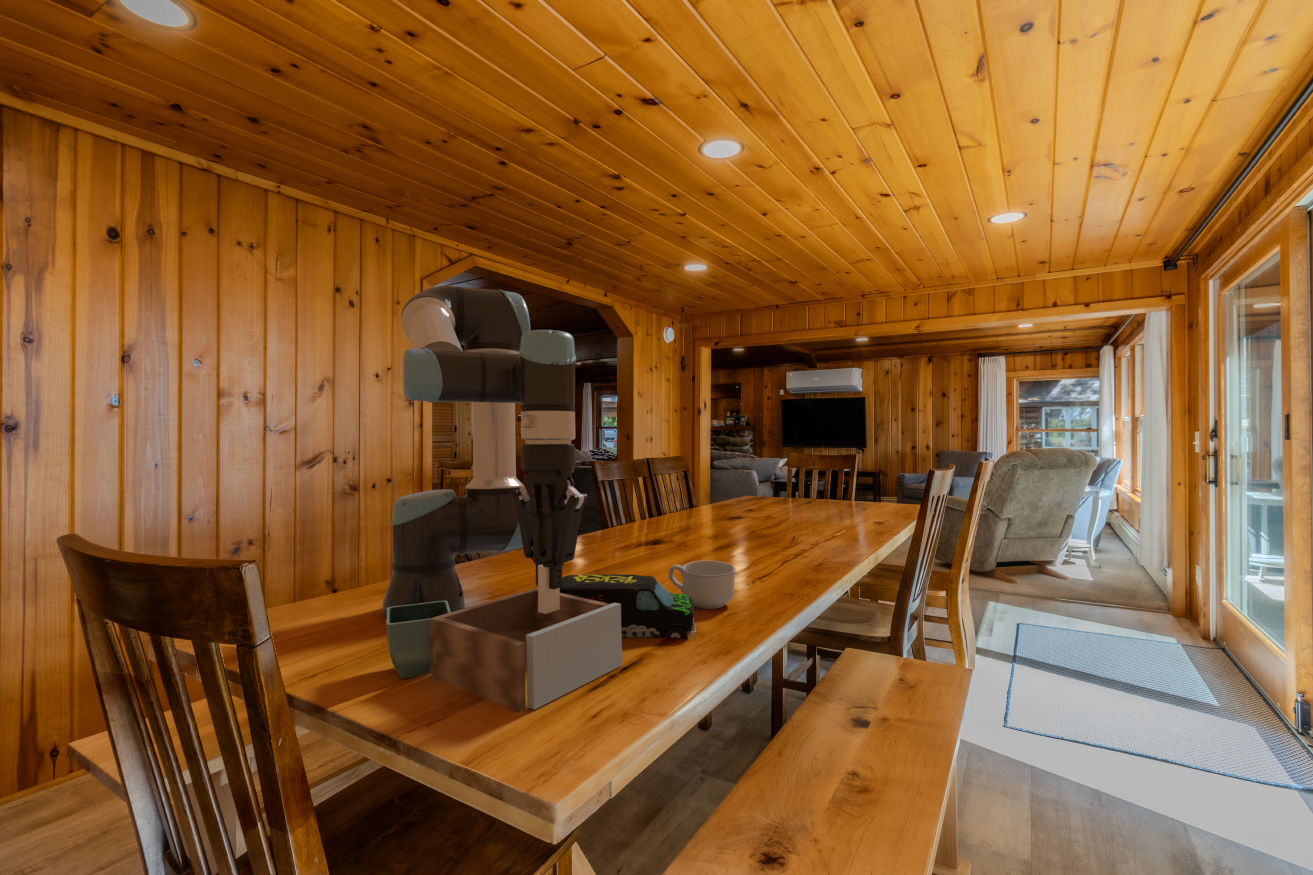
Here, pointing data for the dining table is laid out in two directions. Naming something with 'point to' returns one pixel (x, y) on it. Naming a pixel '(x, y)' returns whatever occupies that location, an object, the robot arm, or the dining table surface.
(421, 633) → the flower pot
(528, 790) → the dining table surface
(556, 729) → the dining table surface
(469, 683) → the crate
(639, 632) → the toy van
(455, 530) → the robot arm
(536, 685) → the panel
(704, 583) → the teacup
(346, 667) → the dining table surface
